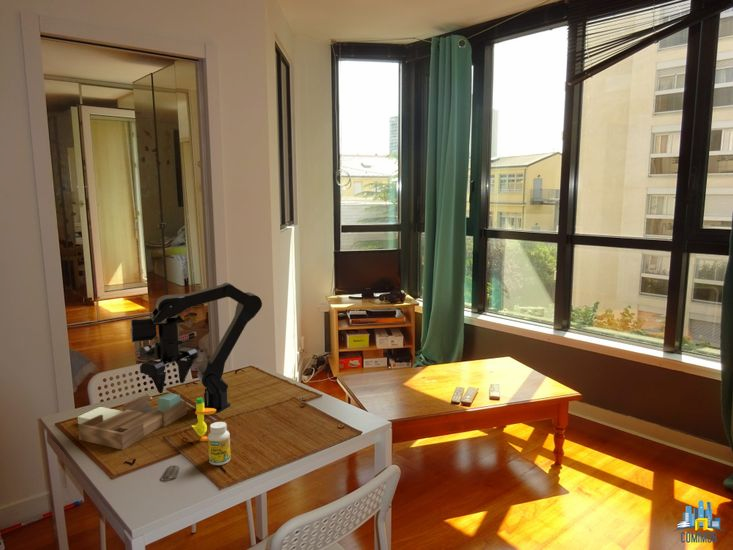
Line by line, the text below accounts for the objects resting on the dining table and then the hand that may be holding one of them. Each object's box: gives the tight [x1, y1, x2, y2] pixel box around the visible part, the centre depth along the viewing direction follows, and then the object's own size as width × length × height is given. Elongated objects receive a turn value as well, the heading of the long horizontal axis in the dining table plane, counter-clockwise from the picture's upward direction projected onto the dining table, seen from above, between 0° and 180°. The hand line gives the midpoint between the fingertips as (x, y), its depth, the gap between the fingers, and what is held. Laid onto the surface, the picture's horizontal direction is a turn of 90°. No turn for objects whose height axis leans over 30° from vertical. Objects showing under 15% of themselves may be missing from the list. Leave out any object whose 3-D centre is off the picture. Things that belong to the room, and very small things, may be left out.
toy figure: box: [191, 397, 217, 442], centre depth 142 cm, size 7×4×12 cm, turn 99°
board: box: [77, 406, 123, 425], centre depth 155 cm, size 10×8×2 cm
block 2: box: [159, 465, 180, 482], centre depth 125 cm, size 4×6×2 cm, turn 9°
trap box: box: [77, 393, 188, 451], centre depth 151 cm, size 16×25×4 cm, turn 159°
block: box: [157, 392, 181, 411], centre depth 158 cm, size 4×4×4 cm
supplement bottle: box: [207, 421, 232, 466], centre depth 131 cm, size 5×5×10 cm
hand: (171, 387), depth 158 cm, fingers open, 9 cm apart
